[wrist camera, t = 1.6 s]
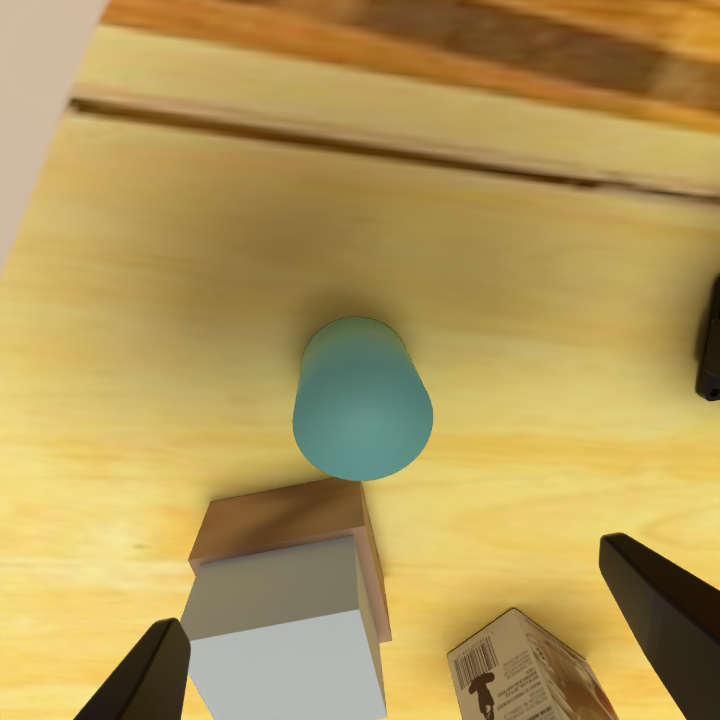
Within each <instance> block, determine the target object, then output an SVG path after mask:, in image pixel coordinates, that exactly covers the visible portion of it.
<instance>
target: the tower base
mask: <svg viewBox="0 0 720 720" xmlns="http://www.w3.org/2000/svg"><path fill="white" fill-rule="evenodd" d="M353 535H354V538H355V542H356V546H357V550H358V554H359V559H360V563H361V567H362V571H363V575H364V579H365V583H366V587H367V592H368V596H369V600H370V604H371V608H372V612H373V616H374V620H375V625H376V629H377V633H378V638H379V643H382V642H388V641H392V637H391V629H390V622H389V615H388V608H387V601H386V593H385V586H384V579H383V574H382V570H381V566H380V561H379V557H378V553H377V548H376V544H375V540H374V535H373V531H372V527H371V522H370V518H369V514H368V509H367V505H366V501H365V496H364V492H363V488H362V483H361V481H351V480H345V479H340V478H337V477H335V478H330V479H325V480H320V481H315V482H310V483H305V484H300V485H294V486H289V487H284V488H279V489H274V490H269V491H264V492H259V493H254V494H248V495H243V496H238V497H233V498H228V499H223V500H218V501H213V502H210V504H209V507H208V510H207V512H206V515H205V517H204V520H203V523H202V525H201V528H200V530H199V533H198V536H197V538H196V541H195V543H194V546H193V549H192V551H191V554H190V556H189V559H188V561H189V563H190V565H191V568H192V570H193V572H194V574H195V576H196V575H197V572H198V569H199V566H200V564H204V563H209V562H215V561H220V560H225V559H231V558H236V557H241V556H247V555H252V554H257V553H263V552H268V551H273V550H279V549H284V548H289V547H295V546H300V545H305V544H310V543H316V542H321V541H326V540H332V539H337V538H342V537H348V536H353Z"/></svg>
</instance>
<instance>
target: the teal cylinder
mask: <svg viewBox="0 0 720 720" xmlns="http://www.w3.org/2000/svg"><path fill="white" fill-rule="evenodd" d="M432 425H433V409H432V405H431V401H430V398H429V396H428V393H427V391H426V389H425V387H424V385H423V383H422V381H421V379H420V377H419V375H418V373H417V371H416V369H415V367H414V365H413V363H412V361H411V358H410V356H409V354H408V352H407V350H406V348H405V346H404V344H403V342H402V341H401V339H400V338H399V336H398V335H397V334H396V333H395V332H394V331H393V330H392V329H391V328H389V327H388V326H387V325H385V324H383V323H381V322H379V321H377V320H374V319H370V318H365V317H348V318H343V319H339V320H336V321H334V322H331V323H329V324H328V325H326V326H324V327H323V328H322V329H320V330H319V331H318V332H317V333H316V334H315V335H314V336H313V337H312V339H311V340H310V342H309V343H308V345H307V347H306V349H305V352H304V355H303V359H302V365H301V371H300V377H299V383H298V389H297V395H296V401H295V407H294V413H293V432H294V436H295V439H296V442H297V445H298V447H299V448H300V450H301V452H302V453H303V455H304V456H305V457H306V458H307V459H308V460H309V461H310V462H311V463H312V464H313V465H314V466H315V467H317V468H318V469H319V470H321V471H323V472H325V473H327V474H329V475H331V476H334V477H337V478H340V479H345V480H351V481H368V480H375V479H379V478H383V477H386V476H389V475H392V474H394V473H396V472H398V471H400V470H401V469H403V468H404V467H406V466H407V465H408V464H410V463H411V462H412V461H413V460H414V459H415V458H416V457H417V456H418V455H419V454H420V452H421V451H422V450H423V448H424V447H425V445H426V443H427V441H428V439H429V436H430V434H431V430H432Z"/></svg>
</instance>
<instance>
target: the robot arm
mask: <svg viewBox="0 0 720 720" xmlns="http://www.w3.org/2000/svg"><path fill="white" fill-rule="evenodd" d="M698 394H699V396H700V397H702V398H704V399H706V400H708V401H716V400H720V277H719V278H718V280H717V282H716V284H715V290H714V297H713V303H712V309H711V315H710V321H709V327H708V333H707V339H706V345H705V351H704V357H703V363H702V369H701V375H700V381H699V388H698ZM599 568H600V571H601V574H602V576H603V578H604V580H605V581H606V583H607V585H608V587H609V589H610V591H611V593H612V595H613V596H614V598H615V600H616V602H617V604H618V606H619V608H620V610H621V612H622V613H623V615H624V617H625V619H626V621H627V623H628V625H629V627H630V628H631V630H632V632H633V634H634V636H635V638H636V640H637V642H638V643H639V645H640V647H641V649H642V651H643V652H644V654H645V656H646V657H647V659H648V661H649V662H650V664H651V665H652V667H653V669H654V670H655V672H656V673H657V675H658V676H659V678H660V679H661V681H662V683H663V684H664V686H665V687H666V689H667V690H668V692H669V693H670V695H671V696H672V698H673V699H674V701H675V703H676V704H677V706H678V707H679V709H680V710H681V712H682V713H683V715H684V716H685V718H686V719H687V720H720V591H719V590H718V589H716V588H714V587H713V586H711V585H709V584H708V583H706V582H704V581H703V580H701V579H699V578H698V577H696V576H694V575H693V574H691V573H690V572H688V571H686V570H685V569H683V568H681V567H680V566H678V565H676V564H675V563H673V562H671V561H670V560H668V559H666V558H665V557H663V556H661V555H660V554H658V553H656V552H655V551H653V550H651V549H650V548H648V547H646V546H645V545H643V544H641V543H640V542H638V541H636V540H635V539H633V538H631V537H630V536H628V535H626V534H624V533H620V532H619V533H612V534H607V535H603V536H602V537H601V539H600V550H599ZM190 655H191V645H190V641H189V639H188V637H187V635H186V633H185V631H184V630H183V628H182V626H181V624H180V622H179V621H178V619H176V618H168V619H163V620H159V621H156V622H155V623H154V624H153V625H152V626H151V627H150V628H149V629H148V630H147V632H146V633H145V634H144V635H143V636H142V638H141V639H140V640H139V641H138V642H137V644H136V645H135V646H134V647H133V648H132V650H131V651H130V652H129V653H128V654H127V656H126V657H125V658H124V659H123V660H122V661H121V663H120V664H119V665H118V666H117V667H116V669H115V670H114V671H113V672H112V673H111V675H110V676H109V677H108V678H107V679H106V681H105V682H104V683H103V684H102V685H101V687H100V688H99V689H98V690H97V691H96V693H95V694H94V695H93V696H92V697H91V699H90V700H89V701H88V702H87V703H86V705H85V706H84V707H83V708H82V709H81V711H80V712H79V713H78V714H77V715H76V717H75V718H74V719H73V720H181V715H182V708H183V701H184V695H185V688H186V682H187V675H188V669H189V662H190Z"/></svg>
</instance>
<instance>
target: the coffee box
mask: <svg viewBox="0 0 720 720" xmlns="http://www.w3.org/2000/svg"><path fill="white" fill-rule="evenodd" d="M447 658H448V663H449V667H450V671H451V675H452V679H453V683H454V687H455V691H456V695H457V699H458V704H459V708H460V712H461V716H462V720H619V718H618V716H617V714H616V713H615V711H614V709H613V707H612V705H611V703H610V701H609V699H608V698H607V696H606V694H605V692H604V690H603V689H602V687H601V685H600V683H599V682H598V680H597V678H596V676H595V674H594V673H593V671H592V669H591V667H590V666H589V664H588V663H587V662H586V661H585V660H584V659H582V658H581V657H580V656H578V655H577V654H576V653H574V652H573V651H572V650H570V649H569V648H567V647H566V646H565V645H563V644H562V643H561V642H559V641H558V640H557V639H555V638H554V637H553V636H551V635H550V634H549V633H547V632H546V631H545V630H543V629H542V628H541V627H539V626H538V625H537V624H535V623H534V622H533V621H531V620H530V619H529V618H527V617H526V616H524V615H523V614H522V613H520V612H519V611H518V610H516V609H511V610H510V611H508V612H507V613H505V614H504V615H503V616H501V617H500V618H498V619H497V620H495V621H494V622H493V623H491V624H490V625H488V626H487V627H486V628H484V629H483V630H481V631H480V632H479V633H477V634H476V635H475V636H473V637H472V638H470V639H469V640H468V641H466V642H465V643H463V644H462V645H461V646H459V647H458V648H456V649H455V650H453V651H452V652H450V653H449V654H448V655H447Z"/></svg>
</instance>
